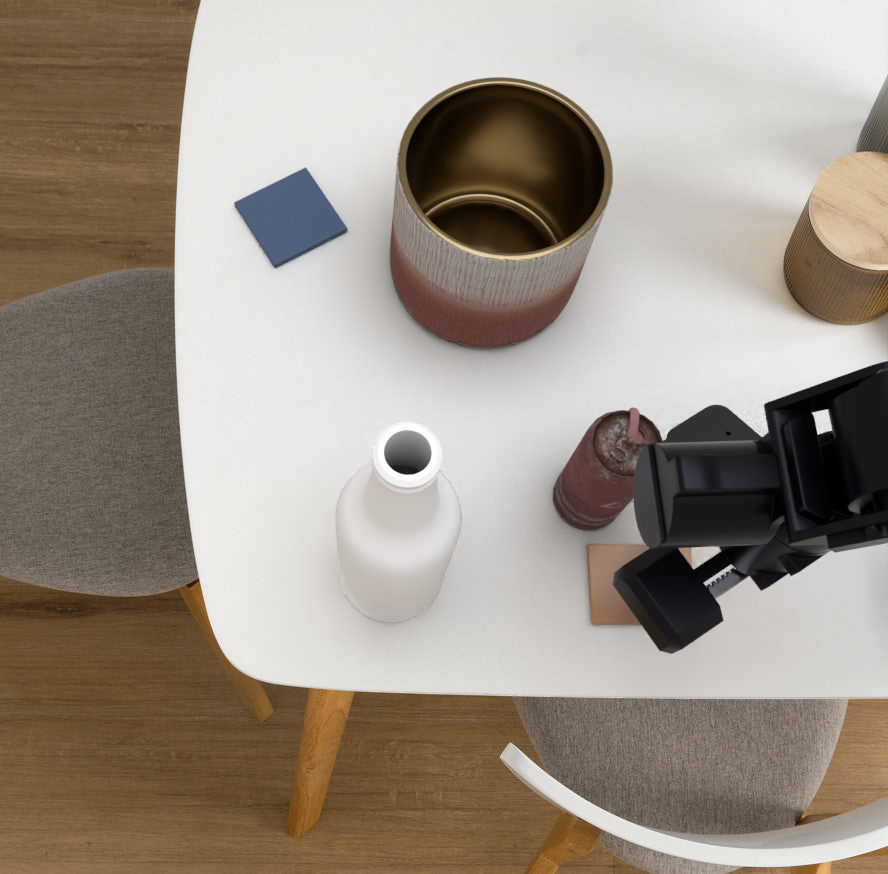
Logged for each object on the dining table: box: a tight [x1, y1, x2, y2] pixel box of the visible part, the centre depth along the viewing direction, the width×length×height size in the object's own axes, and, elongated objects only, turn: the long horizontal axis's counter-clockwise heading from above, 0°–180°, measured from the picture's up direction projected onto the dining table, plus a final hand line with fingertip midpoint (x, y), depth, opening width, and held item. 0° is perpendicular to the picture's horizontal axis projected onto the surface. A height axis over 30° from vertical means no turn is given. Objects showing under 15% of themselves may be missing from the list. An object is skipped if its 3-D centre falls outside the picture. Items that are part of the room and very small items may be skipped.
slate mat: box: [233, 166, 348, 269], centre depth 93 cm, size 8×8×1 cm
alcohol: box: [334, 421, 463, 623], centre depth 69 cm, size 9×9×30 cm
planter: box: [389, 76, 614, 348], centre depth 85 cm, size 18×18×16 cm
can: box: [552, 407, 664, 531], centre depth 79 cm, size 6×6×14 cm
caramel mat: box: [586, 543, 693, 626], centre depth 83 cm, size 9×7×1 cm
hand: (706, 568), depth 70 cm, fingers open, 9 cm apart
